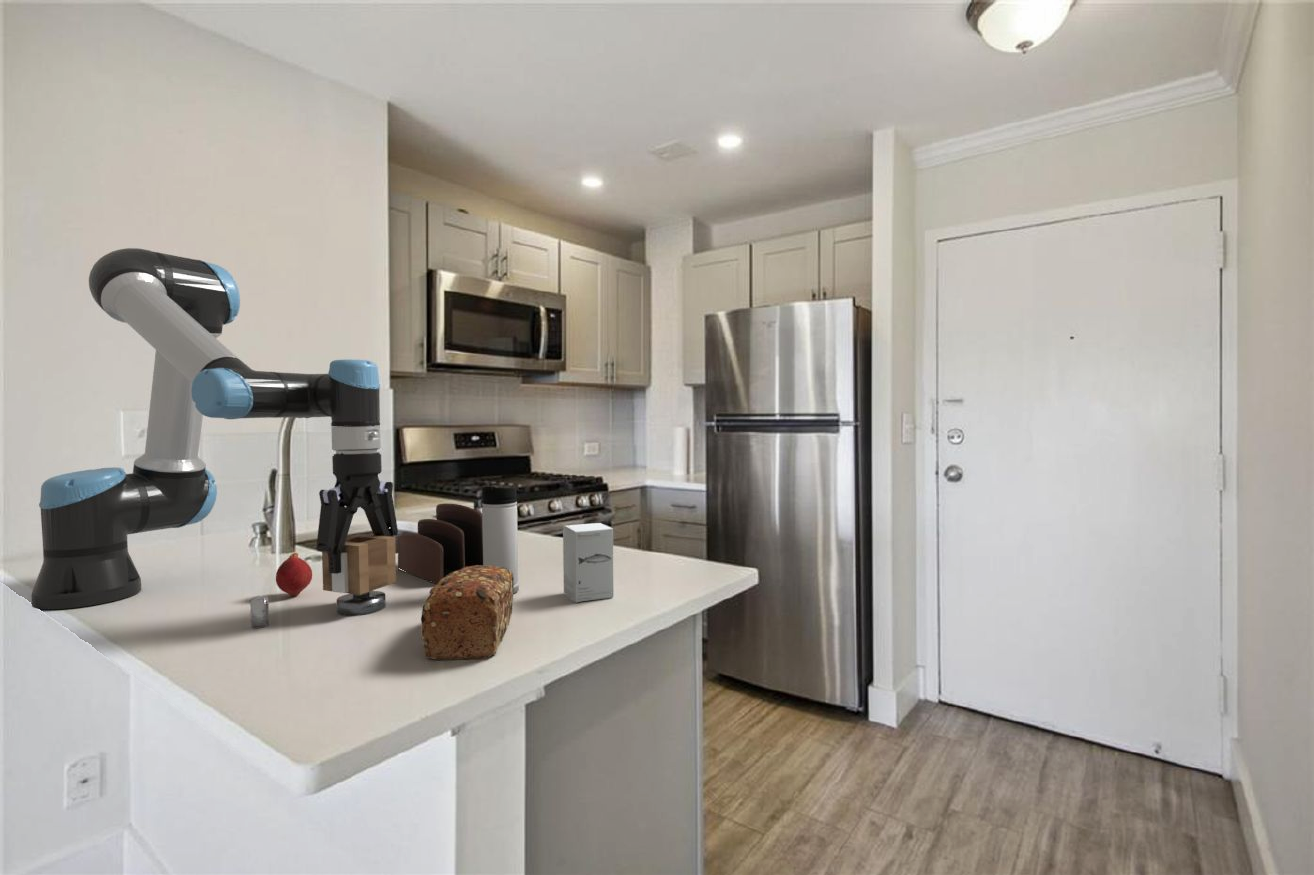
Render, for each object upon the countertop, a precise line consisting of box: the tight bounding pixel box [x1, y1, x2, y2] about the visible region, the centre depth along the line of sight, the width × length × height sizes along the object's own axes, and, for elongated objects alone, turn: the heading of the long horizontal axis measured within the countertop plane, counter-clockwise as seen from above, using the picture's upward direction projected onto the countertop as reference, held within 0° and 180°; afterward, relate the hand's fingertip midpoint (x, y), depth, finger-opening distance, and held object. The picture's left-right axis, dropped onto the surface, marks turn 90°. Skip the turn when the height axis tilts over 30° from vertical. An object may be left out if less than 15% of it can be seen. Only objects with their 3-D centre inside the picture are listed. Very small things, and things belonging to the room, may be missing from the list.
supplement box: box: [562, 522, 615, 604], centre depth 116 cm, size 7×7×13 cm
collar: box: [321, 533, 397, 595], centre depth 110 cm, size 8×8×8 cm
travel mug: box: [481, 485, 520, 595], centre depth 119 cm, size 6×7×20 cm
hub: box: [335, 590, 387, 617], centre depth 110 cm, size 8×8×7 cm
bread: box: [420, 565, 514, 661], centre depth 96 cm, size 19×11×10 cm, turn 5°
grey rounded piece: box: [250, 595, 270, 629], centre depth 102 cm, size 2×2×4 cm
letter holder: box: [397, 503, 483, 585], centre depth 134 cm, size 10×20×14 cm, turn 45°
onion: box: [275, 552, 313, 597], centre depth 118 cm, size 6×6×8 cm
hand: (361, 584), depth 110 cm, fingers closed on collar, 8 cm apart
